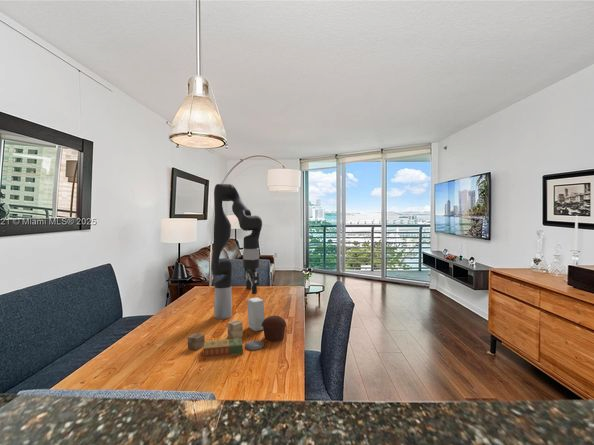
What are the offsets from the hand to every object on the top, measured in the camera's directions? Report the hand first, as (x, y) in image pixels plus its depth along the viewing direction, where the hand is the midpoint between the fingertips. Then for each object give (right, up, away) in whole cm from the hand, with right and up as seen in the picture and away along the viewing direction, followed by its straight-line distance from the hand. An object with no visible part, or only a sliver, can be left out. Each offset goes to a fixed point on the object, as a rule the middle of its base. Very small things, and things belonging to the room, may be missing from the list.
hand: (251, 291), depth 148 cm
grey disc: (+3, -22, -11) cm, 24 cm away
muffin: (+11, -21, -2) cm, 24 cm away
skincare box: (+1, -21, +11) cm, 24 cm away
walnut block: (-23, -22, -11) cm, 33 cm away
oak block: (-8, -21, 0) cm, 23 cm away
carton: (-9, -22, -16) cm, 29 cm away
